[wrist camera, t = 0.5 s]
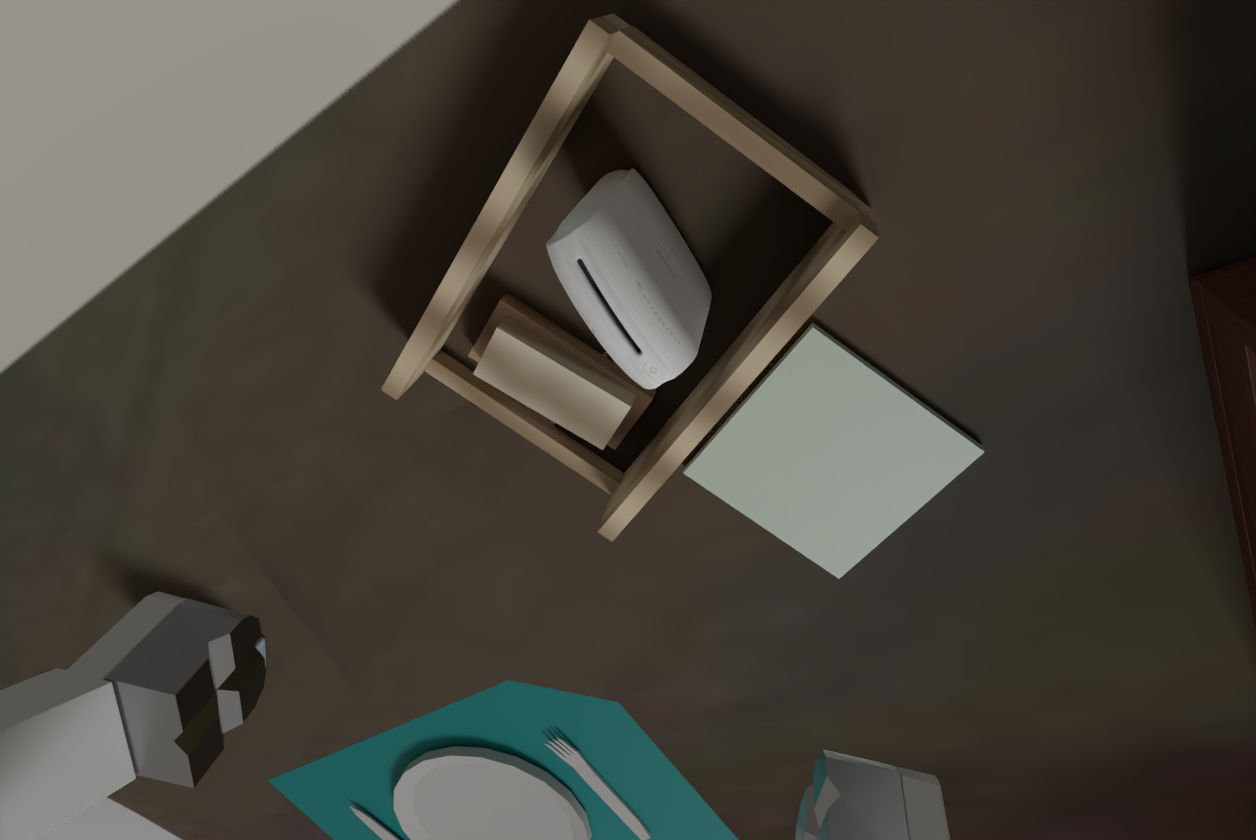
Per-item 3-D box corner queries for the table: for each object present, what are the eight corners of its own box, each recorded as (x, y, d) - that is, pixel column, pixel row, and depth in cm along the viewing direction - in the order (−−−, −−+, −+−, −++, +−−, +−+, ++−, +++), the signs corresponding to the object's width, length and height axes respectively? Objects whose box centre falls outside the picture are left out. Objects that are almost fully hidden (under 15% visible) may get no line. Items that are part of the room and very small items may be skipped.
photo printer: (724, 296, 52) (702, 381, 41) (667, 327, 54) (632, 416, 43) (636, 153, 49) (589, 206, 38) (579, 191, 50) (518, 250, 40)
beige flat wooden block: (509, 289, 55) (500, 299, 53) (657, 386, 56) (652, 399, 55) (478, 344, 58) (468, 355, 56) (620, 435, 59) (614, 449, 57)
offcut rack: (614, 11, 45) (590, 17, 40) (872, 206, 48) (880, 236, 42) (418, 352, 58) (380, 389, 53) (628, 492, 60) (612, 541, 55)
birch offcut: (506, 315, 54) (497, 327, 52) (636, 393, 55) (631, 407, 53) (483, 361, 56) (472, 374, 54) (609, 435, 57) (602, 450, 55)
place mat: (579, 630, 69) (572, 649, 67) (767, 848, 78) (766, 871, 76) (256, 768, 88) (243, 786, 86) (437, 932, 97) (430, 952, 95)
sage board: (812, 322, 52) (812, 327, 51) (982, 445, 53) (984, 452, 53) (684, 467, 58) (683, 473, 58) (838, 572, 60) (839, 578, 60)
